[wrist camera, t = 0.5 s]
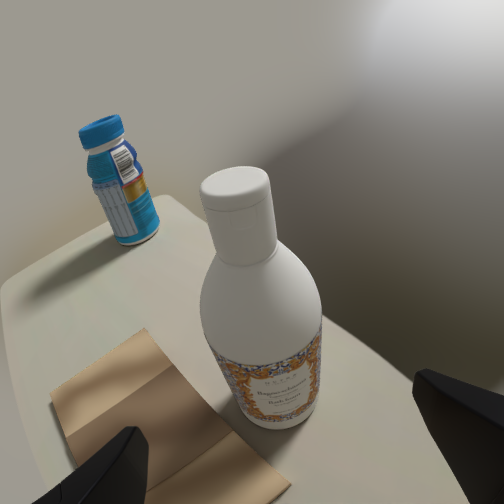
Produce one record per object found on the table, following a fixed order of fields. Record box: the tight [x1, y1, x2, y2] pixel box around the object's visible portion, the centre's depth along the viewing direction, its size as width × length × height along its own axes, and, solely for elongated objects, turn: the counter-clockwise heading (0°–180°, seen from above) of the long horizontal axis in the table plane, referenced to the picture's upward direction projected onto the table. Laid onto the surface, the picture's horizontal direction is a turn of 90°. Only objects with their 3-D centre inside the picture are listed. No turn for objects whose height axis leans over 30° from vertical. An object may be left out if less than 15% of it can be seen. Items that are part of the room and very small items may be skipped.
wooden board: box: [50, 328, 291, 504], centre depth 22 cm, size 22×14×1 cm, turn 42°
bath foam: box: [200, 166, 322, 429], centre depth 19 cm, size 7×7×20 cm
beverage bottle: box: [79, 115, 160, 245], centre depth 44 cm, size 8×8×20 cm
